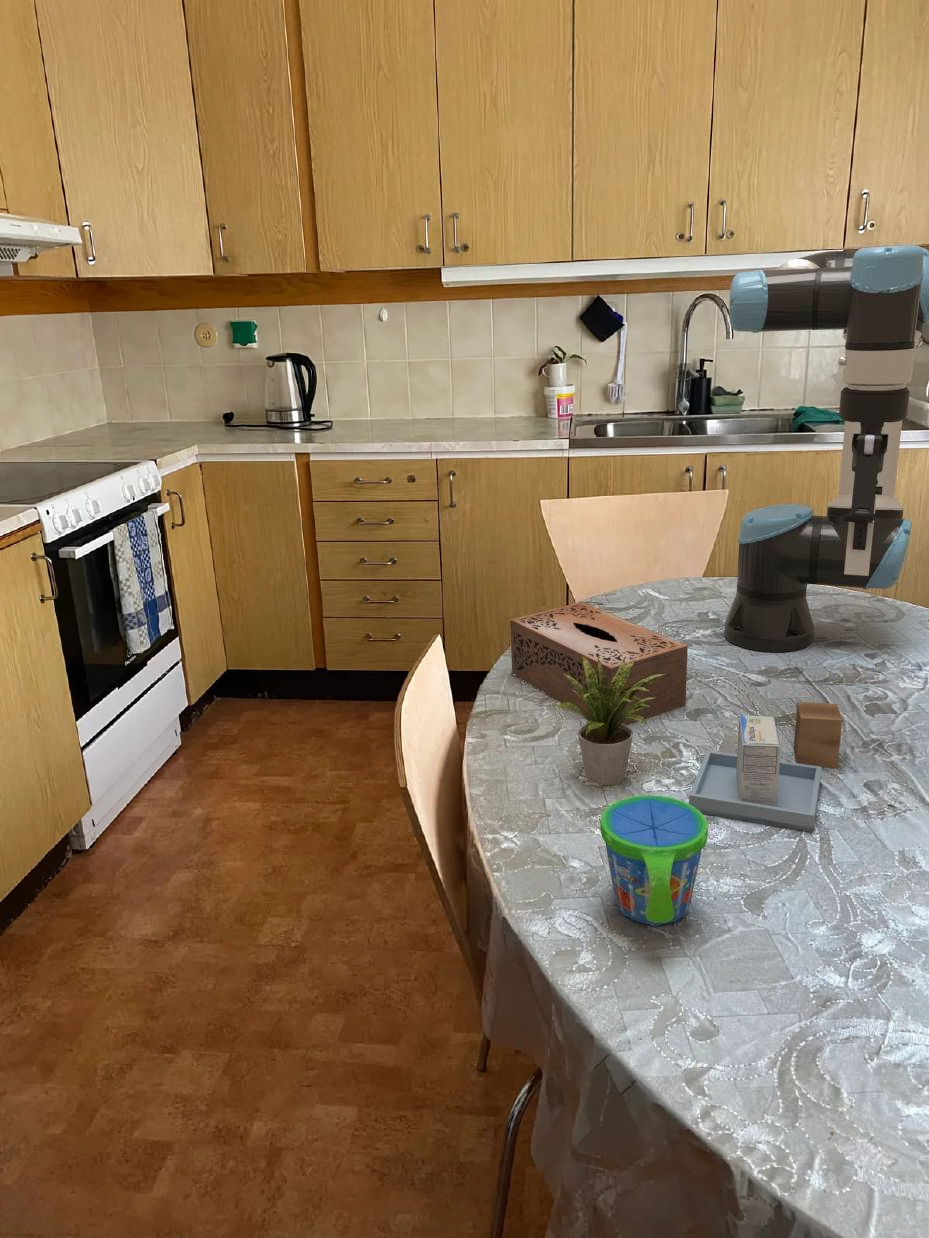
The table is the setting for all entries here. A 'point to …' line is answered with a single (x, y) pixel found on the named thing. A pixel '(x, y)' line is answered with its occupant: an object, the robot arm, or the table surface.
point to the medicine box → (758, 760)
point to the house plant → (607, 722)
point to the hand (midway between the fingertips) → (858, 559)
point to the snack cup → (653, 855)
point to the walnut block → (817, 734)
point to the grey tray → (721, 798)
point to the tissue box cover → (597, 656)
